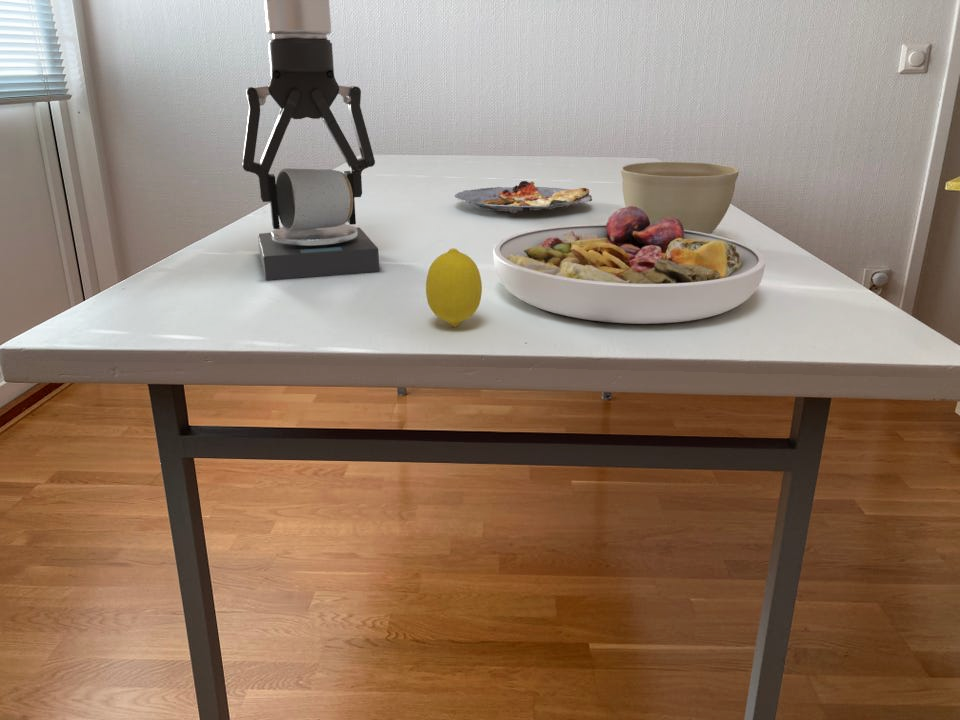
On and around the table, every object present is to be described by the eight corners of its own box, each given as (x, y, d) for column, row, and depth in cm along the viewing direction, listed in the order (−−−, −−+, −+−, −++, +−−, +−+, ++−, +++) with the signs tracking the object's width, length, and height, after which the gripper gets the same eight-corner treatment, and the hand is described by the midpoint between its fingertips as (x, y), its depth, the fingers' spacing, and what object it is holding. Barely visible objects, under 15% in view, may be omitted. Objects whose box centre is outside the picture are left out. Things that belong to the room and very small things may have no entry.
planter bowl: (633, 228, 124) (638, 158, 120) (738, 238, 117) (747, 164, 113) (602, 249, 110) (606, 170, 107) (718, 261, 104) (728, 178, 100)
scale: (265, 280, 95) (263, 255, 94) (259, 255, 107) (257, 232, 106) (379, 271, 99) (378, 247, 98) (360, 248, 111) (359, 226, 110)
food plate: (531, 192, 158) (531, 175, 157) (617, 208, 141) (619, 188, 140) (431, 206, 143) (430, 186, 142) (514, 225, 126) (514, 203, 125)
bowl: (783, 342, 74) (795, 261, 71) (472, 325, 78) (472, 249, 76) (739, 266, 101) (746, 205, 98) (511, 257, 106) (511, 199, 103)
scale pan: (275, 248, 95) (274, 242, 95) (269, 231, 105) (268, 225, 105) (364, 242, 98) (363, 236, 98) (350, 226, 108) (350, 220, 108)
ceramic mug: (358, 228, 99) (354, 167, 97) (297, 236, 95) (291, 172, 92) (325, 217, 108) (321, 160, 105) (268, 223, 103) (262, 164, 101)
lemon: (488, 321, 80) (488, 244, 77) (471, 338, 75) (471, 256, 72) (438, 316, 81) (436, 240, 79) (418, 332, 77) (416, 252, 74)
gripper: (383, 39, 99) (390, 214, 108) (204, 37, 93) (226, 224, 101) (395, 37, 93) (402, 225, 101) (204, 35, 87) (227, 235, 95)
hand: (314, 224), depth 101 cm, fingers closed on ceramic mug, 9 cm apart
